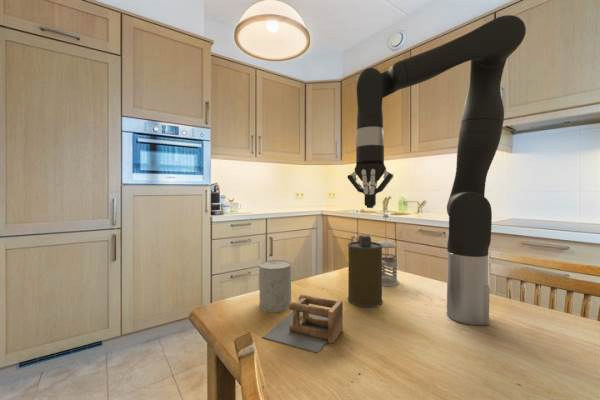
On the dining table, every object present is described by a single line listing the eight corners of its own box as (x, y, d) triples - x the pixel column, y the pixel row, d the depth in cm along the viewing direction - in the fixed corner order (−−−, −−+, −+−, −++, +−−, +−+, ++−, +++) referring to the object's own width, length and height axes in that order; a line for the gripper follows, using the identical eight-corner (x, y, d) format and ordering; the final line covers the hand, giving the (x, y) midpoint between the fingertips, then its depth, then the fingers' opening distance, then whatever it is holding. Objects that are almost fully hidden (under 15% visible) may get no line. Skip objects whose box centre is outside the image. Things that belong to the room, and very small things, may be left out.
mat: (342, 320, 72) (342, 320, 72) (318, 353, 58) (318, 352, 58) (294, 310, 79) (294, 310, 79) (262, 337, 64) (262, 336, 64)
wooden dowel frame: (342, 300, 67) (301, 293, 72) (332, 312, 61) (288, 303, 66) (342, 329, 68) (302, 319, 73) (332, 343, 61) (289, 332, 66)
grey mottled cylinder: (296, 301, 85) (296, 262, 85) (282, 314, 76) (281, 270, 76) (270, 297, 89) (269, 259, 89) (252, 308, 80) (252, 266, 80)
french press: (404, 286, 98) (404, 215, 97) (371, 286, 98) (371, 215, 97) (394, 277, 108) (394, 213, 107) (364, 277, 107) (364, 213, 107)
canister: (386, 307, 80) (386, 238, 79) (350, 307, 80) (350, 238, 80) (377, 293, 91) (377, 232, 90) (345, 293, 91) (345, 233, 91)
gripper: (396, 145, 78) (396, 207, 78) (350, 149, 84) (350, 206, 84) (392, 141, 71) (392, 209, 72) (342, 145, 77) (343, 208, 78)
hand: (370, 207), depth 78 cm, fingers closed
